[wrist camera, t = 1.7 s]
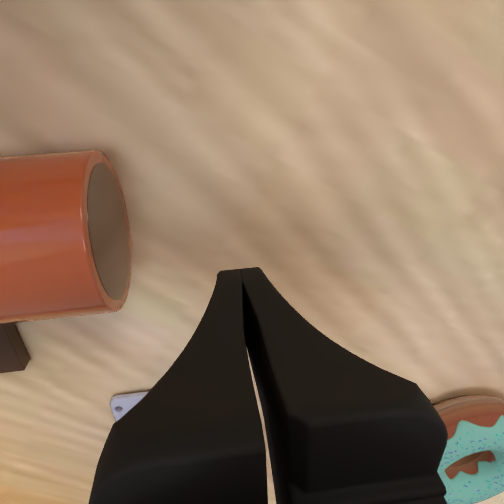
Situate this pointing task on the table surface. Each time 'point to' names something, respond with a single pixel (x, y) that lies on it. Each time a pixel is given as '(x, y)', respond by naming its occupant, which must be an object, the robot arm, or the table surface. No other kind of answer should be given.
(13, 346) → the board
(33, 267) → the cup
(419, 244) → the table surface
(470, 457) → the donut
